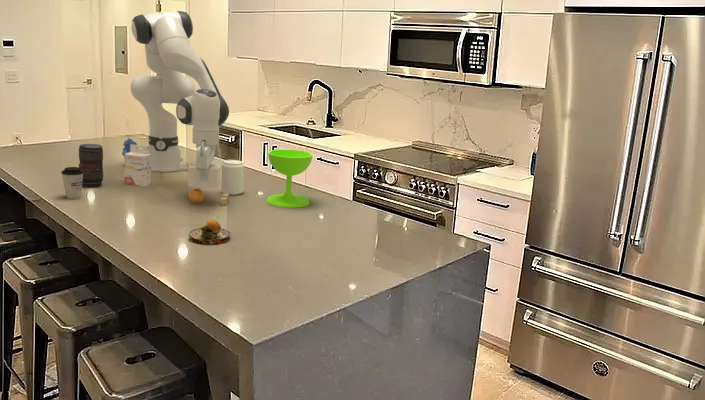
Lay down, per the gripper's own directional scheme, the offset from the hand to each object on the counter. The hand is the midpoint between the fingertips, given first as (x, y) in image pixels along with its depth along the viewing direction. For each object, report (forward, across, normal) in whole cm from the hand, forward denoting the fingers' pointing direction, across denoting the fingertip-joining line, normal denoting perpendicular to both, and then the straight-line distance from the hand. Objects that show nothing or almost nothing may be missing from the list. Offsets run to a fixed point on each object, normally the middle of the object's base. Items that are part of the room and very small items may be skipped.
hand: (205, 177), depth 207 cm
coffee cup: (+9, 0, +44) cm, 45 cm away
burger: (+10, -38, -6) cm, 39 cm away
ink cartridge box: (+9, +23, +28) cm, 37 cm away
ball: (+7, 0, +3) cm, 7 cm away
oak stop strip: (+9, +1, -7) cm, 11 cm away
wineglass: (+9, +7, -29) cm, 31 cm away
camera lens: (+9, +17, +43) cm, 47 cm away
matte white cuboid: (+2, 0, 0) cm, 2 cm away
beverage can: (+9, +16, -8) cm, 20 cm away
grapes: (+9, +52, +38) cm, 65 cm away
